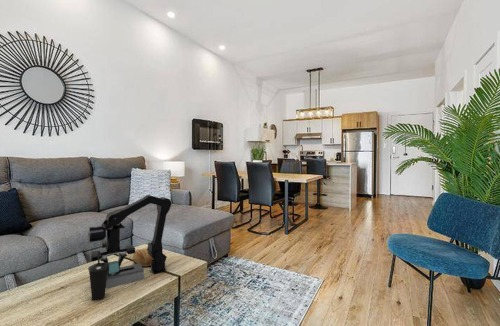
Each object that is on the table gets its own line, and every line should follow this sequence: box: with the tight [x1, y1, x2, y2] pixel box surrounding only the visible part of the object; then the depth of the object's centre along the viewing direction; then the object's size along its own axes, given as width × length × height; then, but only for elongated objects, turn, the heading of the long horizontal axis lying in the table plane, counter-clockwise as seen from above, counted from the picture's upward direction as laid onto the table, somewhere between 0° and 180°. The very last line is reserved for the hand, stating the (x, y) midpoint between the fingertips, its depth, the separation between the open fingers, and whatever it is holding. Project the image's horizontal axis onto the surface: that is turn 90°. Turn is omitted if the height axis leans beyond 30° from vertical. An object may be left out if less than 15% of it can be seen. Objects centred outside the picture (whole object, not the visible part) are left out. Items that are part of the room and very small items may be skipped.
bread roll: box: [132, 248, 153, 267], centre depth 145 cm, size 10×15×8 cm, turn 47°
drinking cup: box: [87, 251, 109, 302], centre depth 109 cm, size 8×8×20 cm
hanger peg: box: [108, 260, 119, 275], centre depth 122 cm, size 4×4×8 cm
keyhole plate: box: [106, 263, 145, 290], centre depth 125 cm, size 18×9×5 cm, turn 126°
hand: (113, 270), depth 122 cm, fingers closed on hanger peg, 4 cm apart
